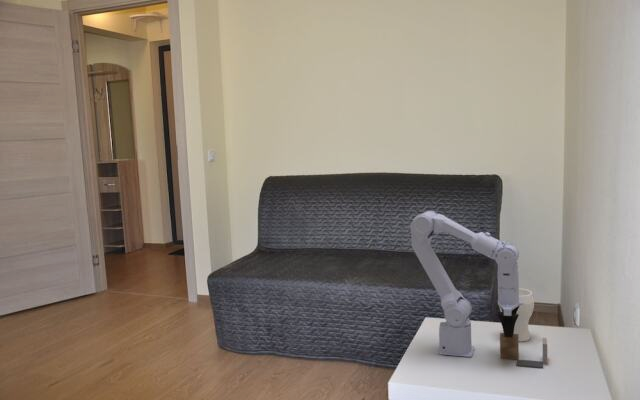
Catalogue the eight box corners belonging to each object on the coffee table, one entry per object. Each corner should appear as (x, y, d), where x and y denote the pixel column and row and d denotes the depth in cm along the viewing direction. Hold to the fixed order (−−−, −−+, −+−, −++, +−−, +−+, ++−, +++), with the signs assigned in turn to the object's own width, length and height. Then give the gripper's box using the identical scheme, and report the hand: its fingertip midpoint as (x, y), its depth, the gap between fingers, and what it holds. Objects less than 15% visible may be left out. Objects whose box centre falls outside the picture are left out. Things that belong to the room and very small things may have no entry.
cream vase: (530, 345, 168) (530, 298, 166) (495, 340, 174) (494, 294, 172) (537, 334, 177) (536, 289, 175) (504, 330, 183) (503, 286, 181)
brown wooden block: (500, 358, 159) (499, 335, 159) (500, 355, 162) (500, 332, 161) (518, 360, 158) (518, 337, 157) (518, 357, 160) (518, 334, 159)
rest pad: (516, 366, 154) (516, 364, 154) (516, 360, 158) (516, 359, 157) (543, 368, 151) (543, 367, 151) (542, 362, 155) (542, 361, 155)
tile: (542, 364, 154) (542, 343, 153) (542, 357, 159) (542, 337, 158) (547, 364, 154) (547, 344, 153) (547, 358, 158) (546, 338, 158)
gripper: (522, 294, 149) (523, 342, 151) (523, 280, 163) (524, 325, 164) (495, 293, 152) (496, 340, 153) (498, 279, 165) (499, 323, 167)
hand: (509, 332), depth 159 cm, fingers open, 7 cm apart
